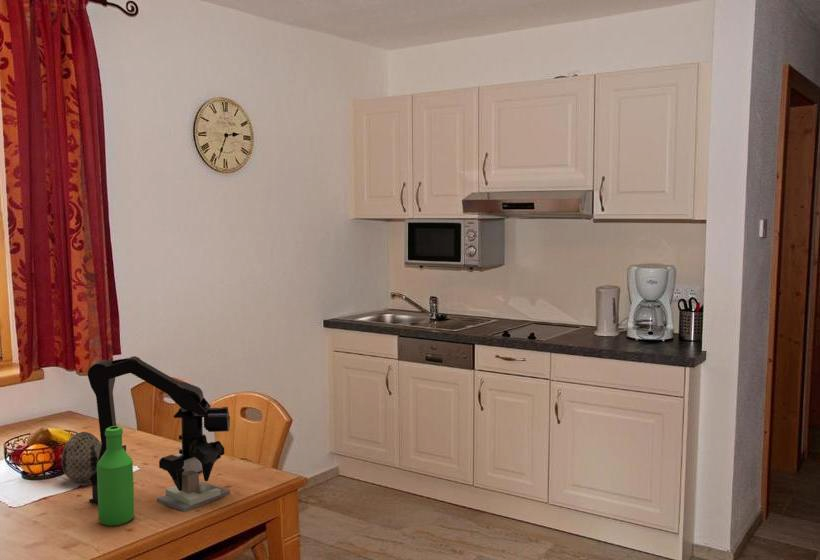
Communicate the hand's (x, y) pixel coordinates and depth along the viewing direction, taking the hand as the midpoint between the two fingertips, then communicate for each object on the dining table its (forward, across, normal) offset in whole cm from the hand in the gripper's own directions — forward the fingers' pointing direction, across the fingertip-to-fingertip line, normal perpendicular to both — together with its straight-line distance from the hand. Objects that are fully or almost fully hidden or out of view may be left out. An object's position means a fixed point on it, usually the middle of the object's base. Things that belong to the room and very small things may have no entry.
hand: (193, 485), depth 215 cm
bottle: (+4, -22, +4) cm, 22 cm away
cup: (+4, +13, +18) cm, 23 cm away
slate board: (+4, 0, 0) cm, 4 cm away
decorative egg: (+4, -11, +37) cm, 39 cm away
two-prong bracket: (+3, 0, 0) cm, 3 cm away
